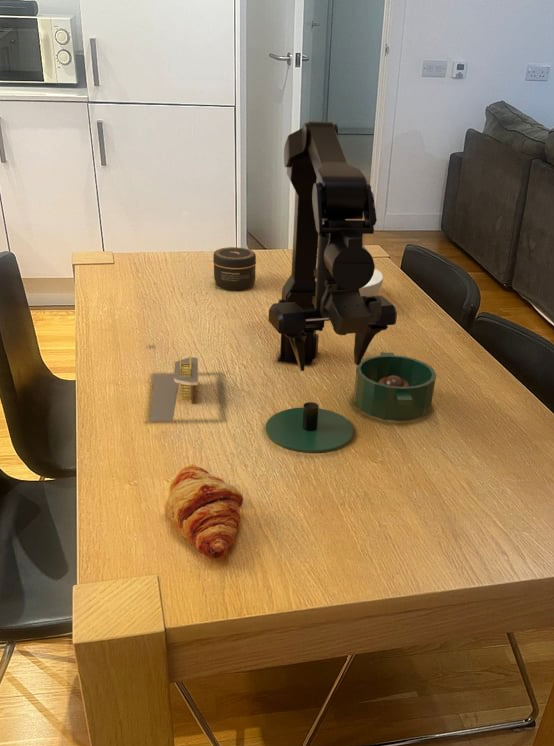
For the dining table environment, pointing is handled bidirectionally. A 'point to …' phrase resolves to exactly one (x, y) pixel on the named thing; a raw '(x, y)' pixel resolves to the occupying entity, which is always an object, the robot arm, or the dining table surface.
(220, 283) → the jar
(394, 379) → the mushroom
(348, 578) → the dining table surface
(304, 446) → the lid
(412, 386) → the pot
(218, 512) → the croissant
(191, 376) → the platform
